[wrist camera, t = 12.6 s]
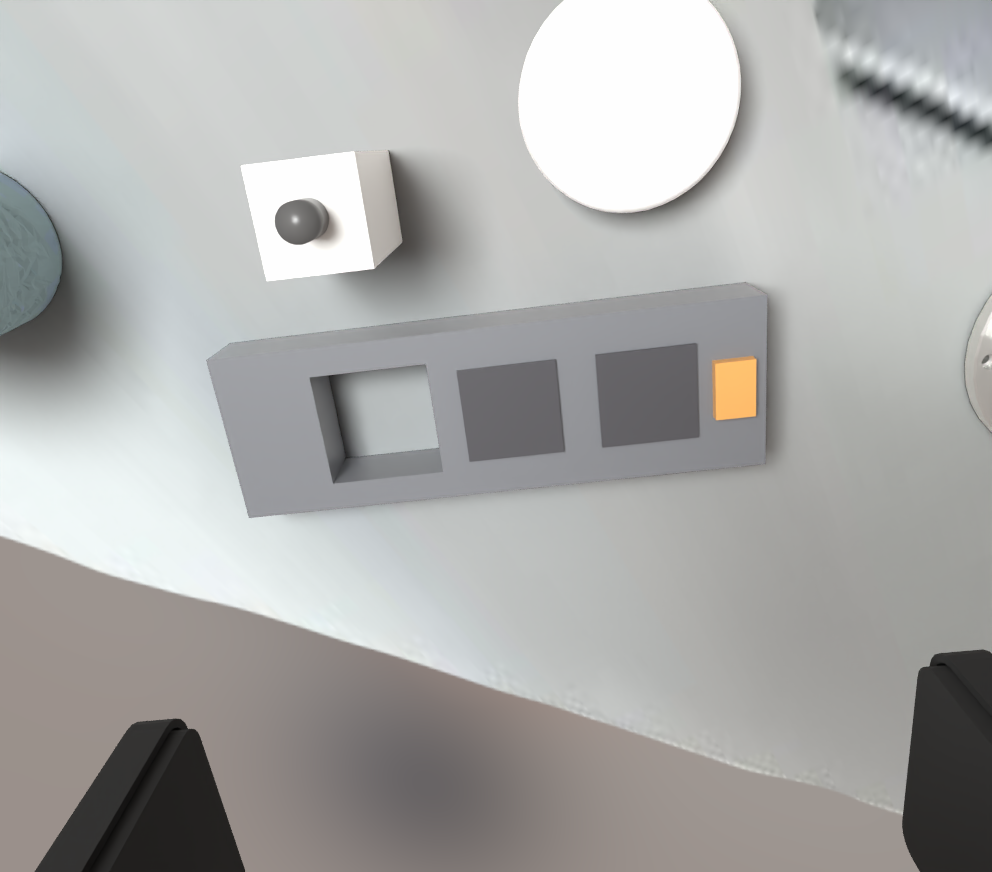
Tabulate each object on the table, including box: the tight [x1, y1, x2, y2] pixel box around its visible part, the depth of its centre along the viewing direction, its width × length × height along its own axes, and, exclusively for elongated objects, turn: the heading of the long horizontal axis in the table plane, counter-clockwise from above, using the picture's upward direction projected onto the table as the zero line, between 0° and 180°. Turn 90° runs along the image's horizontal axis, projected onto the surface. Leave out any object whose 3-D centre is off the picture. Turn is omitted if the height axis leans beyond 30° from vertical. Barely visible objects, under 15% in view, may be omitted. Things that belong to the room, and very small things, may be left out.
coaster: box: [518, 0, 741, 213], centre depth 35 cm, size 10×10×4 cm
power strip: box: [206, 282, 767, 518], centre depth 40 cm, size 28×9×4 cm, turn 97°
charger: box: [241, 150, 403, 281], centre depth 33 cm, size 4×4×11 cm
